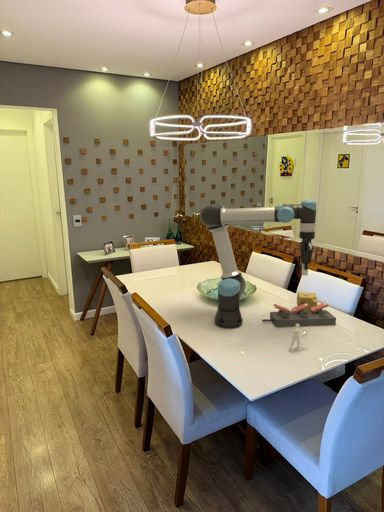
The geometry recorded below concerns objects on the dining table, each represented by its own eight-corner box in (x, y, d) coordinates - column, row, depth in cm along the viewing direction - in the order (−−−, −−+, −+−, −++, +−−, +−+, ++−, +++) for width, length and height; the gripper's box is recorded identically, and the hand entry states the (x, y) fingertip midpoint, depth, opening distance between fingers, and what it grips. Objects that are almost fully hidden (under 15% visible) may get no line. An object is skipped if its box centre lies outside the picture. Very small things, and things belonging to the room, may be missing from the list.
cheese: (317, 314, 202) (318, 298, 200) (297, 313, 204) (298, 297, 202) (314, 308, 212) (315, 292, 210) (296, 307, 214) (297, 291, 212)
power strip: (265, 327, 185) (265, 318, 184) (259, 318, 197) (259, 309, 196) (335, 325, 187) (336, 315, 186) (325, 316, 199) (326, 307, 198)
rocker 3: (313, 313, 192) (312, 310, 192) (310, 311, 196) (309, 308, 196) (329, 307, 192) (328, 304, 192) (325, 304, 196) (324, 301, 195)
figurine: (285, 349, 162) (286, 325, 159) (298, 344, 167) (300, 320, 164) (294, 353, 158) (295, 328, 155) (307, 347, 163) (308, 323, 160)
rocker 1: (275, 309, 190) (276, 306, 190) (273, 306, 194) (274, 303, 194) (290, 314, 191) (291, 311, 191) (287, 311, 195) (289, 308, 195)
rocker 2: (294, 314, 192) (293, 311, 191) (292, 311, 196) (291, 308, 195) (310, 308, 191) (309, 305, 191) (307, 305, 195) (306, 302, 195)
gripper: (319, 232, 175) (316, 278, 180) (309, 228, 188) (306, 271, 193) (304, 233, 175) (302, 278, 180) (295, 229, 187) (293, 272, 193)
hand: (304, 275), depth 186 cm, fingers closed
